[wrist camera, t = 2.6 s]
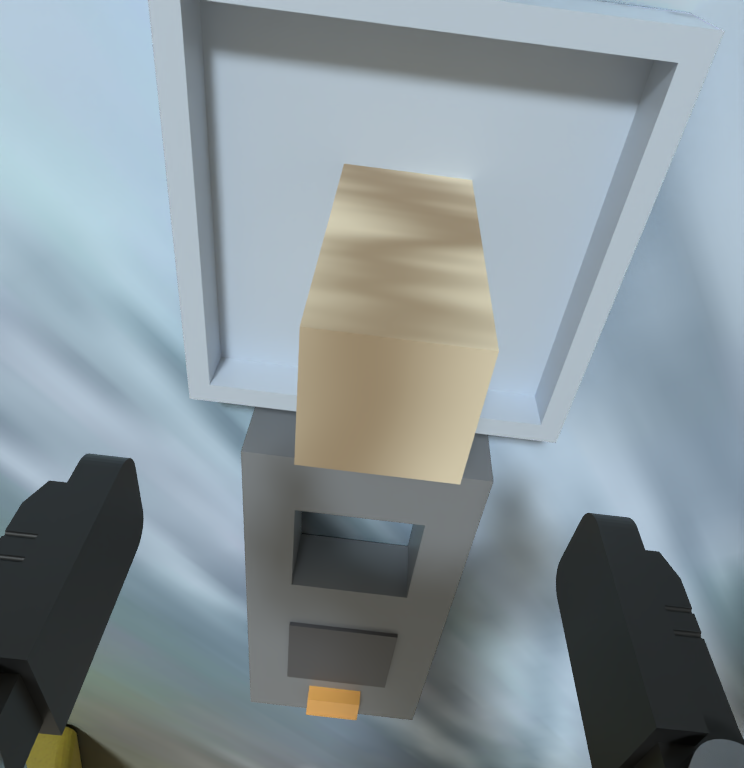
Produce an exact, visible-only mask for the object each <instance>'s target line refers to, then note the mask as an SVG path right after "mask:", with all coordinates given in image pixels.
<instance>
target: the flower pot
mask: <svg viewBox="0 0 744 768" xmlns="http://www.w3.org/2000/svg"><path fill="white" fill-rule="evenodd" d="M26 765H27V768H82V765H81V759H80V752H79V745H78V739H77V733H76V732H75V731H74V730H73V729H71V728H69V727H65V729H64V731H63V734H62V736H61V735H50V734H40V733H38V736H37V738H36V740H35V743H34V745H33V747H32V750H31V752H30V754H29V757H28V759H27V761H26Z"/></svg>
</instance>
